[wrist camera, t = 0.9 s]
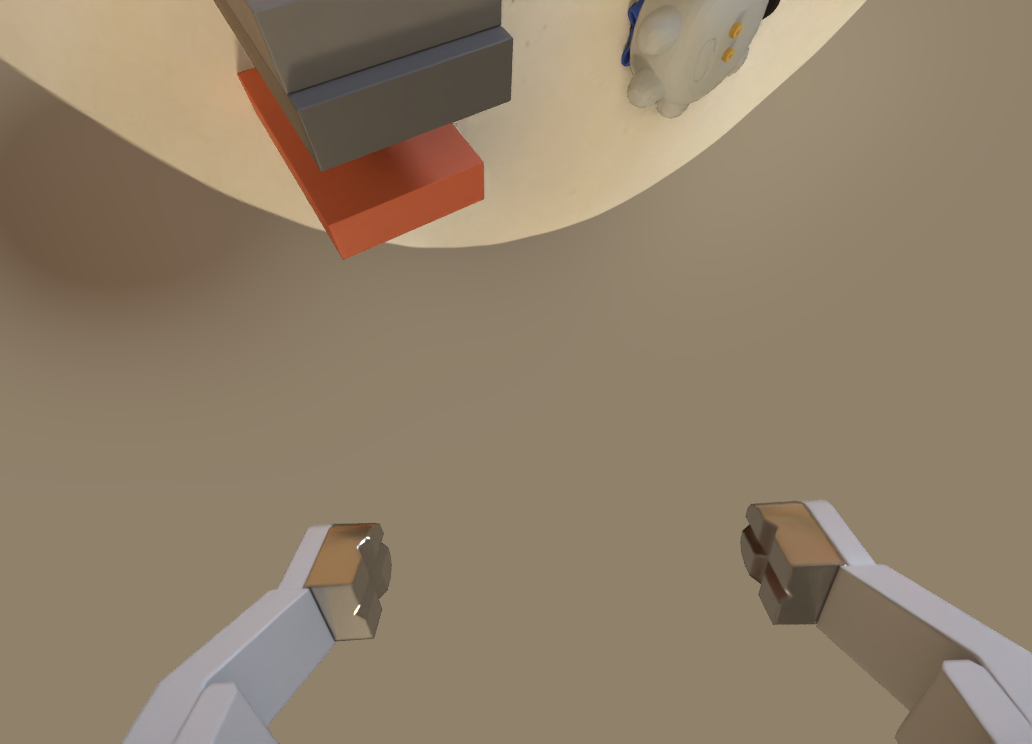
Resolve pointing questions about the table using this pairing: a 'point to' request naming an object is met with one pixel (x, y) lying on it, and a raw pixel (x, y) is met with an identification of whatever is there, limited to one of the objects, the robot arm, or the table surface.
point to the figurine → (687, 48)
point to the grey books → (374, 66)
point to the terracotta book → (375, 178)
